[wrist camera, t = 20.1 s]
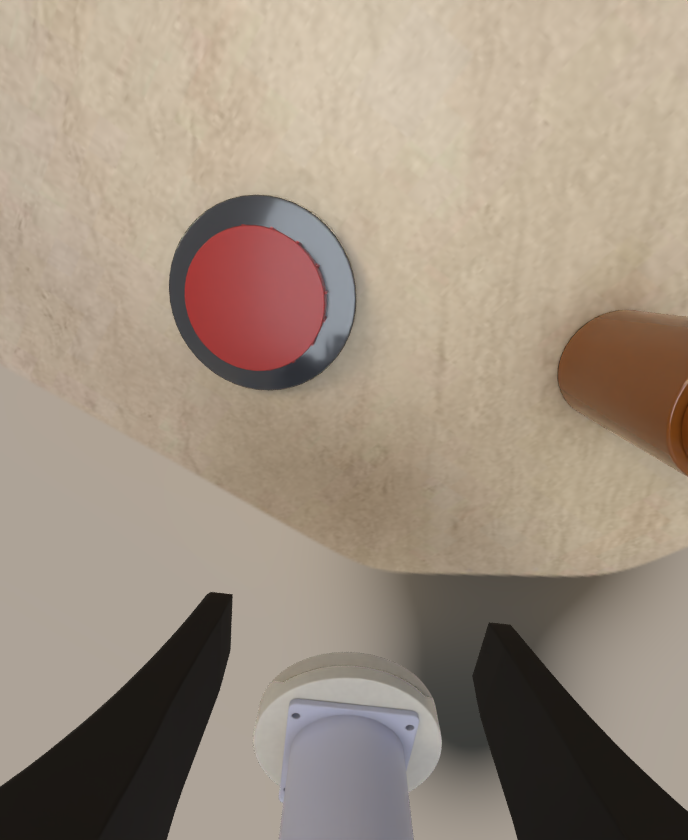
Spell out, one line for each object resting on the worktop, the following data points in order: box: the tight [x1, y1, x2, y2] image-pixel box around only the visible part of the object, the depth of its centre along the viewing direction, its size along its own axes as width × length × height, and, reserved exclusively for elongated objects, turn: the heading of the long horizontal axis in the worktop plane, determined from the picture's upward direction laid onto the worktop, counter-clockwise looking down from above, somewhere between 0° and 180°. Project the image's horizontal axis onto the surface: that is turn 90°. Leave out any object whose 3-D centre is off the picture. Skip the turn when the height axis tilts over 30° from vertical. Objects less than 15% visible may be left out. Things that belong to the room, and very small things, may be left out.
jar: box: [558, 310, 688, 477], centre depth 15 cm, size 5×5×8 cm
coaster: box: [169, 195, 356, 390], centre depth 18 cm, size 8×8×1 cm
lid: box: [185, 224, 328, 371], centre depth 17 cm, size 6×6×2 cm
